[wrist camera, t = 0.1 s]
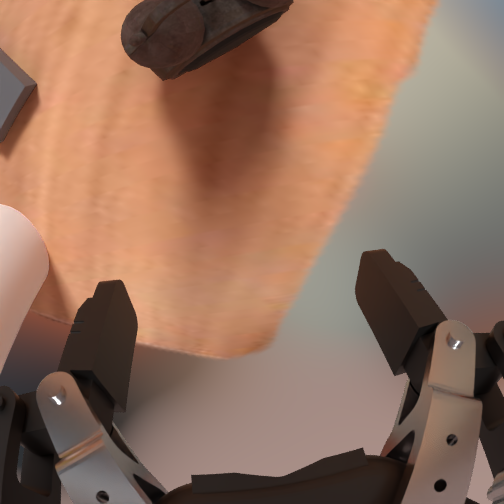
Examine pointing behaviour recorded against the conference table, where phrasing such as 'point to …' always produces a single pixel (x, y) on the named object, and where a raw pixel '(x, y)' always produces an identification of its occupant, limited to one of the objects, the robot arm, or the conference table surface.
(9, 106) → the slider console
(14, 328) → the cylinder
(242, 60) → the conference table surface
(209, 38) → the brown backpack
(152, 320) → the conference table surface
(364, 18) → the conference table surface
